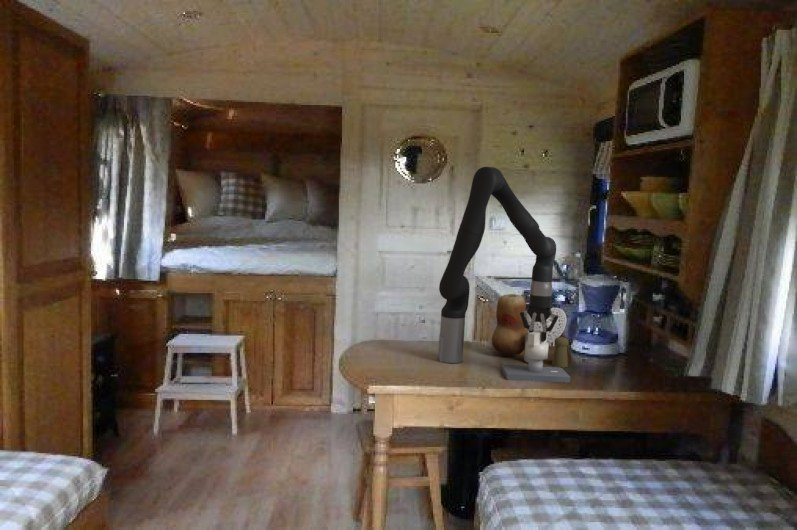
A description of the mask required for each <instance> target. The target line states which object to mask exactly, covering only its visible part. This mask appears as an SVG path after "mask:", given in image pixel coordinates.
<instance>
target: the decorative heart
mask: <svg viewBox="0 0 797 530" xmlns="http://www.w3.org/2000/svg"><path fill="white" fill-rule="evenodd" d="M551 311H552V313H553V314H555V315H558V316H559V317H558V319H557V321H556V323H555V325H554V327H553V329H552V330H551V331H548V332H547V341H546V342H547V343H548V344H549V347H550V346H551V347H555V339H556V338H557V337H561V335H562V334H563V333H564V331H565V329H566V326H567V321H568V320H567V314H566V313H565V311H564V310H563V309H562V308H559V307H552V308H551ZM526 319H527V322H528V325H530V323H531V320H532V319H531V317H530V316H529V314H528V313H527V317H526ZM552 321H553V320H551V316H550V317H549V318H548V319H547V320H546V322H547V327H549V326H550V325H551V323H552ZM541 329H542V330H543V328H542V323H541V322H535V325H534V328H533V330H534V331H538V330H541ZM527 331H529V330H528V329H527Z"/></svg>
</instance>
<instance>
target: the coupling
mask: <svg viewBox="0 0 797 530" xmlns="http://www.w3.org/2000/svg"><path fill="white" fill-rule="evenodd" d="M542 332H543V330H542V329H541V330H538V331H534V332H531V333H528V341H526V346H525V350H524V352H525V357H527V358H531V359H537V360H543V361H545V360H548V356H549V347H550V344H548V343H547V342H546V341H547V336H546V340H545V341H544V343H543V342H541V340H542Z"/></svg>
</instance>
